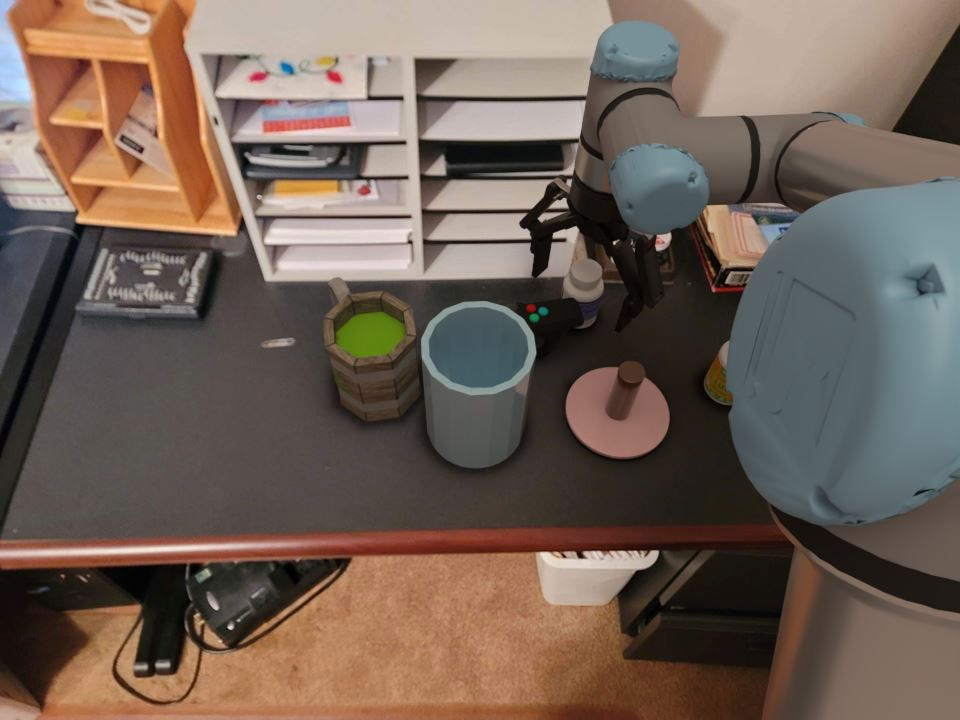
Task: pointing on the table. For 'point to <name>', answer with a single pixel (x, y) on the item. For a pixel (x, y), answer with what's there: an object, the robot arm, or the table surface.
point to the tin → (477, 382)
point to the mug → (372, 352)
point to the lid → (617, 411)
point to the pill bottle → (584, 288)
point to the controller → (548, 319)
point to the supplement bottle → (718, 378)
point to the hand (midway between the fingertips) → (580, 298)
